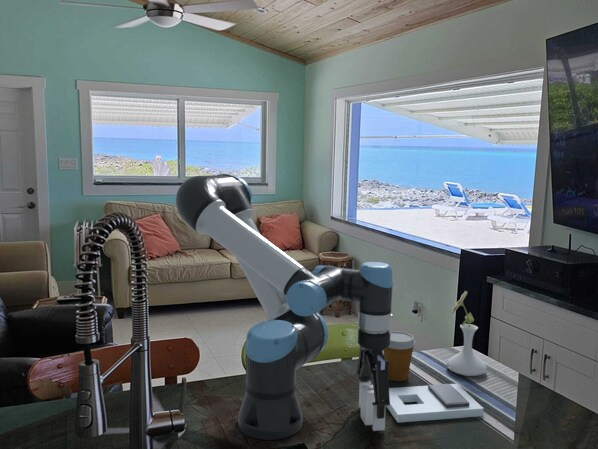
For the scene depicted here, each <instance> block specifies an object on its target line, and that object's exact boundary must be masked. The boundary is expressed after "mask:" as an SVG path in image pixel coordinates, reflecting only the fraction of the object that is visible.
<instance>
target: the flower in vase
mask: <svg viewBox="0 0 598 449" xmlns="http://www.w3.org/2000/svg"><path fill="white" fill-rule="evenodd" d="M467 295H468V291H466V290H465V291H464V292H463V293H462V294H461V296H460V299H459V300H457V301H456V302H455V304H456V305H455V306H453V307H452V309H451V311H450V313H451V314H454V313H455V312H456V311H457V309H458V308H459V307H463V309H464V311H465V314H466V315H465V316H464V319H465V320H464V321H463V322H462V324H460V326H459V327H460V328H461V330H462V334H463V348H462V350H461V351H459V352H458V353H456V354H455V355H453V356H451V357H450V358H448V359H447V362H446V366H447V369H449V370H450V371H451V372H453V373H455V374H458V375H461V376H465V377H466V376H468V377H476V376H481V375H484V374H485V373H486V372H487V370H488V368H487V367H488V366H487V365H486V363H485V362H484V361H483V360H482V359H481V358H480V357H478V356H477V355H476V354H475V353H474V352H473V340H474V335H475V332H476V331H477V330H478V329H479V327H478V326H477V325H475V324H471V323H473V322H474V321H475V318H474V316H473V314H472V312H471V311H470V312H468V311H467V309H466V307H465V304H464V301H465V298H466V297H467Z"/></svg>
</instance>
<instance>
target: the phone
mask: <svg viewBox="0 0 598 449" xmlns="http://www.w3.org/2000/svg"><path fill="white" fill-rule="evenodd" d="M450 384H451V383H441V384H439V383H438V384H437V383H436V384H428V385H427V386H428V389H429V390H430V391H431V392H432V393H433V394H434V395H435V396H436V397H437V398H438V399H439V401H440V402H441V403H442V404H443V405H444V406H445V407H446V408H453V407H467V406H469V402H468V401H467V400H466V399H465V398H464V397H463V396H462V395H461V394H460V393H459V392H458V391H457V390H456V389H454V388H453V387H452V386H451V385H450Z"/></svg>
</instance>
